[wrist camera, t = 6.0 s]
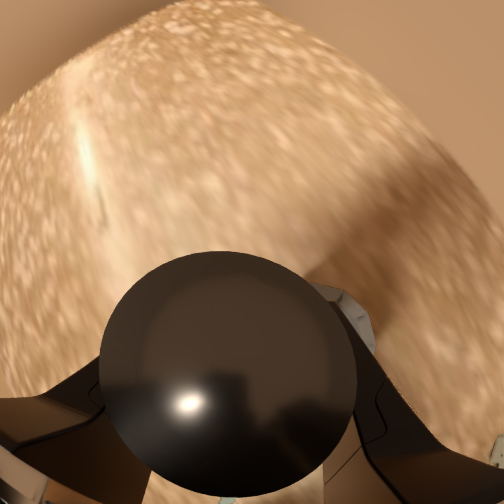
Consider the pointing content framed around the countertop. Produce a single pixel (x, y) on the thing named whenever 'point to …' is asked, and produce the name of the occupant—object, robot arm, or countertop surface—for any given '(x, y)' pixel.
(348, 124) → the countertop surface
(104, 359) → the hinge pin
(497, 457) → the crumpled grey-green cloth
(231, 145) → the countertop surface
